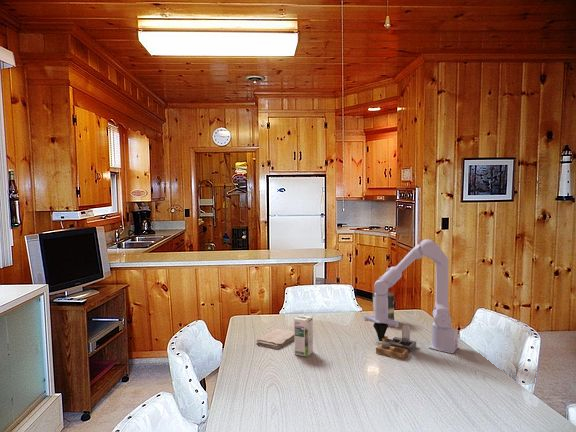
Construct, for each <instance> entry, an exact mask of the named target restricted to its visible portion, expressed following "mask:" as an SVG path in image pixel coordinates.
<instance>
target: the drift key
mask: <svg viewBox="0 0 576 432" xmlns="http://www.w3.org/2000/svg"><path fill="white" fill-rule="evenodd" d="M389 341H392V342H396V340H393V338H389V336H388V335H385V336H384V337H383V338H382V341H381V343H382V342H389Z"/></svg>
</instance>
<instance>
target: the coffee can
mask: <svg viewBox="0 0 576 432" xmlns="http://www.w3.org/2000/svg"><path fill="white" fill-rule="evenodd" d="M374 293H375V291H374V292H373V293H372V316H374V297H375V296H374ZM387 297H388V318H389V319H391V320H394V321H395V293H393V292H390V291H388V293H387ZM372 323H373V324H374V323H375V322H372Z"/></svg>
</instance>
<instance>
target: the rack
mask: <svg viewBox="0 0 576 432" xmlns="http://www.w3.org/2000/svg"><path fill="white" fill-rule="evenodd" d="M375 354H378V355H381V356H385V357H388V358H389V357H390V358H392V359H396V360H397V359H398V360H401V361H404V360H405V359H406V358H407V357H408V356H409V353H408V350H405V349H401V348H397V347H393V346H390V343H389V342H382V341H381V343H380V344H379V345H378V346H376V347H375Z"/></svg>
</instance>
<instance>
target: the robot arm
mask: <svg viewBox="0 0 576 432" xmlns="http://www.w3.org/2000/svg"><path fill="white" fill-rule="evenodd" d="M424 257H426V258H428V259H430V260H432V261H433V262H434V263H435V302H434V308H433V310H432V312H431V313H432V315H431V316H432V317H433V319H434V320H433V322H432V323H431V344H430V345H429V346H428V349H431V350H434V351H440V352H444V353H449V354H454V353H455V352H456V351H457V350H458V348H459V332H458V329H457V328H455V327H453V326H452V318H451V315H450V309H449V265H450V264H449V258H448V256H447V255H446V253H445V252H444V251H443V249H442V248H441V247H440V246H439V244H438V243H437V242H435V241H434V240H432V239H430V238H424V239H423V240H421V241H420V242H419V243H418V244H416V245H415V246H414V247H413V248H411V250H410V251H409V252H408V253H407V254H406V255H405V256H404V257H403V258H402V259H401V260H400V261H399V262H398V263H397V265H395V266H390V267H387V268H386V269H385V270H386V271H385V272H384V274H382V275H381V276H379V277H378V279H377V280H376V281H375V282H374V284H373V291H374V292H375V293H374V292H373V293H374V296H375V297H374V316H373V315H364V318H363V319H364V320H363V321H365V322H370V323H373V322H375V323H373V328H374V330H375V332H376V335H377V339H378V341H379V342H382V338H383V337H385V336H386V332H387V329H388V328H389V326H390V327H394V328H398V327H399V324H400V323H399V321H397V320H395V319H394V320H391V319H389V318H388V297H387V293H388V292H389V289H390V288H392V287H393V286H394V285H395V284H396V283H397V282H398V281H399V280H400V279H401V278H402V277H403V271H405V270H406V269H407V268H408V267H409V266H410V265H411V264H412V263H413V262H414V261H415V260H418V259H423V258H424Z"/></svg>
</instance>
